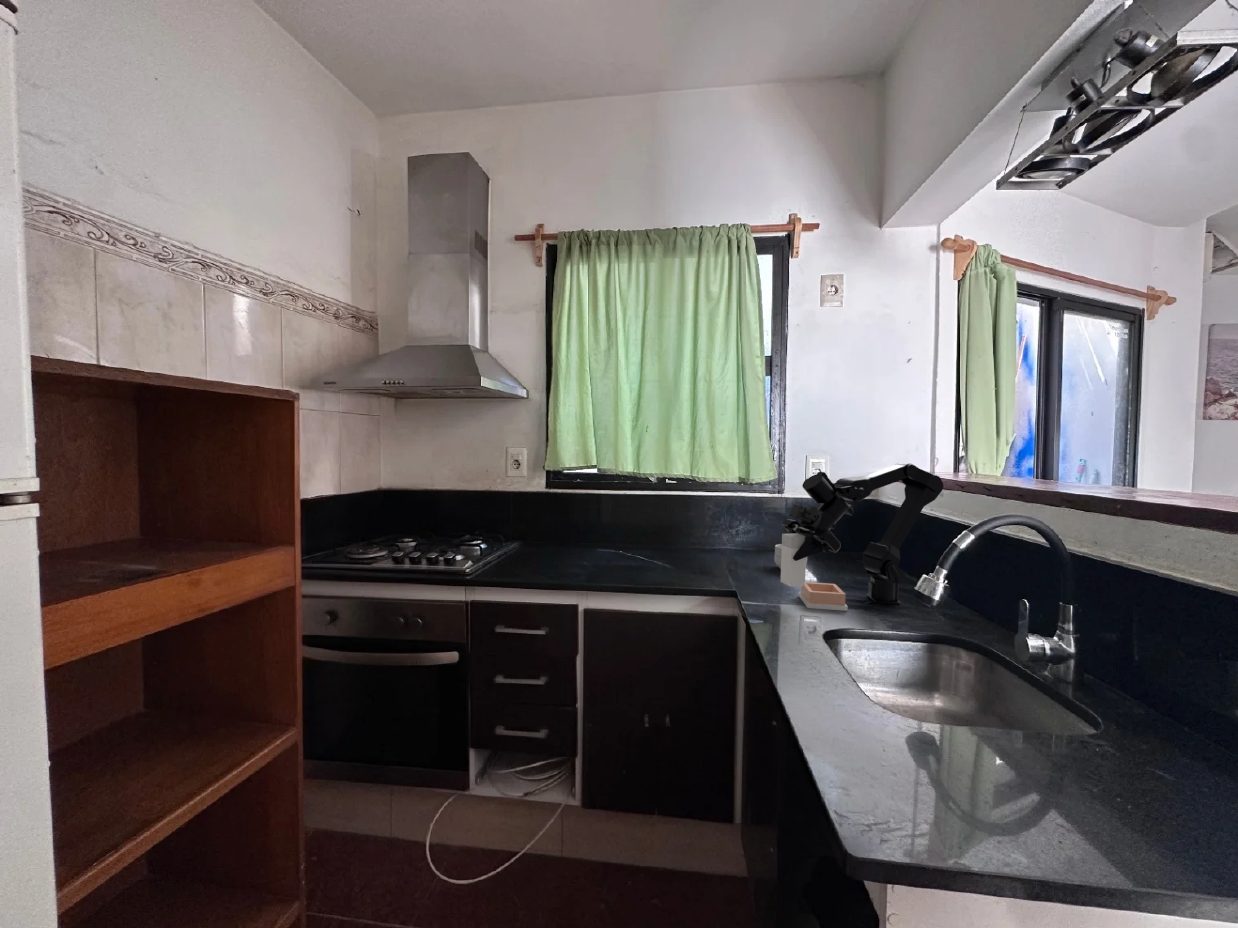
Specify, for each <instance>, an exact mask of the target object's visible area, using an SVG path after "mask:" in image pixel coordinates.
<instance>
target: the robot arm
mask: <svg viewBox="0 0 1238 928" xmlns="http://www.w3.org/2000/svg"><path fill="white" fill-rule="evenodd" d="M899 481H900V483H902V484H903V485H904V486H905V487H904V497H905V498H904V500H903V502H902V504H901V505H900V507H899V508H898V511H897V512H896V514H895V516H894V517H893V519H892V521H891V522H890V524H889V526H888V528H887V529H886V531H885V533H884V535H883V536H882V537H881V539H880V540H879V541H878V542H876V543H875V542H873V541H870V542H868V545H867V547H866V549H865V550H864V551H863V552H862V555H863V556H862V558H861V559H862V560H861V561H862V565H863V568H864V570H865V574H866V575H867V576H870V581H868V587H867V588H868V589H867V597H869V598H870V599H871V600H872V601H873V602H874V603H877V604H878V603H880V604H893V605H901V601H900V600H899V587H900V586H899V584H900V583H904V582H905V579H906V573H905V572H904V571H903V570H902V569H901V567H900V566H899V565H900V562H901V555H900V554H901V553H900V550H901V548H902V547H903V546H902V545H903V544H904V542H905V540H906V538H907V537H908V535H909V533H910V532H911V530H912V528H913V526H914V524H915V523H916V521H917V520H918V518H919V516H920V514H921V513H922V511H923V509H924V507H925V506H927V505H928V504H930V503H932V502H934V501H935V500H936V499H937V498H938V497H939V495H940V494H941V493H942V491H943V488H944V482H943V480H942V478H941V477H940V475H939V476H938V475H937V474H936V475H935V474H933V473H931V472H928V471H927V470H924V469H921V468H919V467H918V466H916V465H915V464H912V463H909V462H908V463H907V462H897V463H894V465H893V464H892V465H891V466H888V467H886V468H885V467H884V468H883V469H879V470H876V471H874V472H871V473H868V474H866V475H862V476H850V477H844V478H839V479H837V480H836V482H832V480H831V479H830V478H829V476H828V474H827V473H826V472H825V471H818V472H817V474H812V475H811V476H810V477H808V478H806V479H805V480H804V481H803V482H802V486H801V487H802V489H803V490H804V491H805V492H806V493H807V494H808V496H809V497H810V498H811V499H812V500H813V501H814V503H816V504H820V506H818V508H817V507H815V506H812V505H808V506H807V507H806V506H802V505H799V504H792V506H791V509H790V510H789V512H788V516H790V517H794V518H795V519H797V520H795V519H792V518H785V520H784V521H783V522H781V526H782V527H783V528H784V529H785V530H786V531H787V532H788V534H793V533H797V534H800V535H803V536H805V542H804V543H803V544H802V546H801V547H800V548H799V550H798V551H797V552H796V553H795V555H794V557H793V559H794V560H795V561H797V560H800V559H802V558H805V557H807V558H808V557H811V556H813V555H817V554H819V553H821V552H824V553H825V552H827V550H828V551H829V552H832V553H835V554H837V552H838V551H839V550H840V549H841V544H842V543H841V541H840V540H839V539H838V537H837V536H835V534H834V533H833V532H832V531H831V530H836V528H837V525H836V523H837V522H838V521H840V519H841V518H842V517H843V515H844V514H845V515H849V516H854V512H855V511H854V505H852V504H849V503H848V502H847V501H852V502H860V501H864V500H865V499H866V498H868V497H870V496H871V494H872V493H873V491H875V490H878V489H881V488H883V487H886V486H889V485H892V484H894V483H897V482H899ZM846 500H847V501H846ZM798 520H799V521H798ZM826 547H827V550H826V549H825V548H826Z"/></svg>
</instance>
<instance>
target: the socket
mask: <svg viewBox="0 0 1238 928" xmlns="http://www.w3.org/2000/svg"><path fill="white" fill-rule="evenodd" d="M800 588H801V590H800V591H798V598H800V599H801V601H802V602H803V604H804V606H805V607H806V608H807V609H818V610H831V611H832V610H833V611H843V612H844V611H845V612H847V611H848V608H849V607H848V605H847V604H846V593H845V592H844V591H843V590H842V589H841V588H840V587H839V586H838V585H837V584H835V583H824V582H808V581H805V586H800Z"/></svg>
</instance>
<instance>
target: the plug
mask: <svg viewBox="0 0 1238 928" xmlns="http://www.w3.org/2000/svg"><path fill="white" fill-rule="evenodd" d="M804 542H805V536H803V535H800V534H797V533H793V534H789V533H782V534H781V544H782V553H781V569H780V582H781V583H783V584H784V585H786V586H788V587H801V586H805V582H806V571H807V570H806V568H807V567H806V566H807V563H806V557H805V558H802V559H800V560H797V561H795V560H794V559H793V557H794V555H795V553H796V552H797V551H798V550H799V548H800V547H801V546H802V544H803V543H804Z"/></svg>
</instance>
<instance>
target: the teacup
mask: <svg viewBox="0 0 1238 928" xmlns="http://www.w3.org/2000/svg"><path fill="white" fill-rule="evenodd" d="M781 553H782V543H779V544H775V546H774V563H775V564H776V566H777V567H778V568H779V569H780V570H781ZM807 563H808V557H806V564H807Z"/></svg>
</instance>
